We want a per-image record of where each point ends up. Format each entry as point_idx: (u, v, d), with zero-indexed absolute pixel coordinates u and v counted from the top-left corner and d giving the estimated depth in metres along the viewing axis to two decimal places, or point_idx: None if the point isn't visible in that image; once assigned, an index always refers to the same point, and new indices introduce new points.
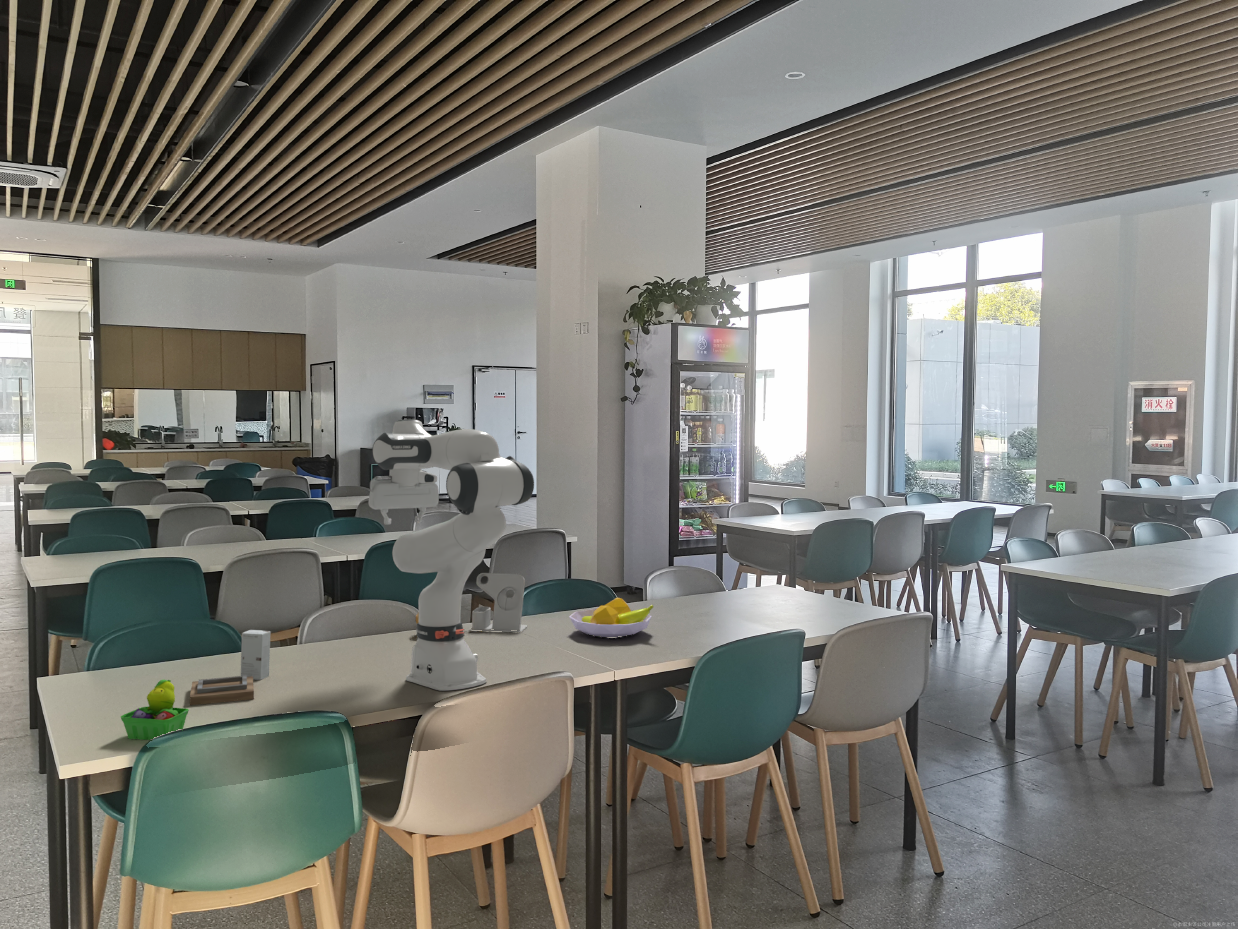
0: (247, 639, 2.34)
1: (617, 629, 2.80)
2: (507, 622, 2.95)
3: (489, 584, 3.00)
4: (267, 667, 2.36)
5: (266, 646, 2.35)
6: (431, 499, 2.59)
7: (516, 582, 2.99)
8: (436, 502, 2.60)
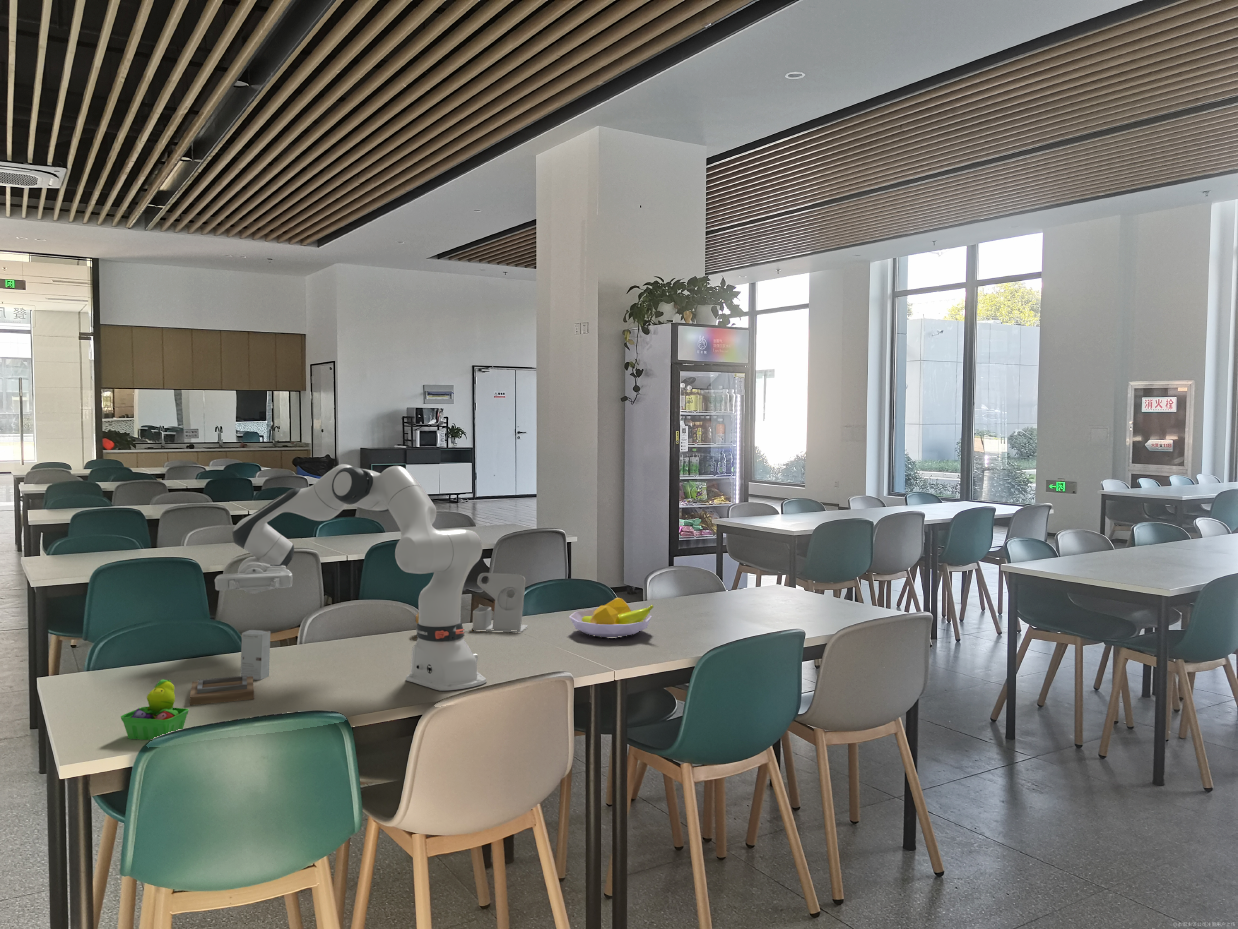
0: (247, 639, 2.34)
1: (617, 629, 2.80)
2: (507, 622, 2.95)
3: (490, 584, 3.00)
4: (267, 667, 2.36)
5: (266, 646, 2.35)
6: (283, 573, 2.56)
7: (517, 582, 2.99)
8: (289, 573, 2.55)
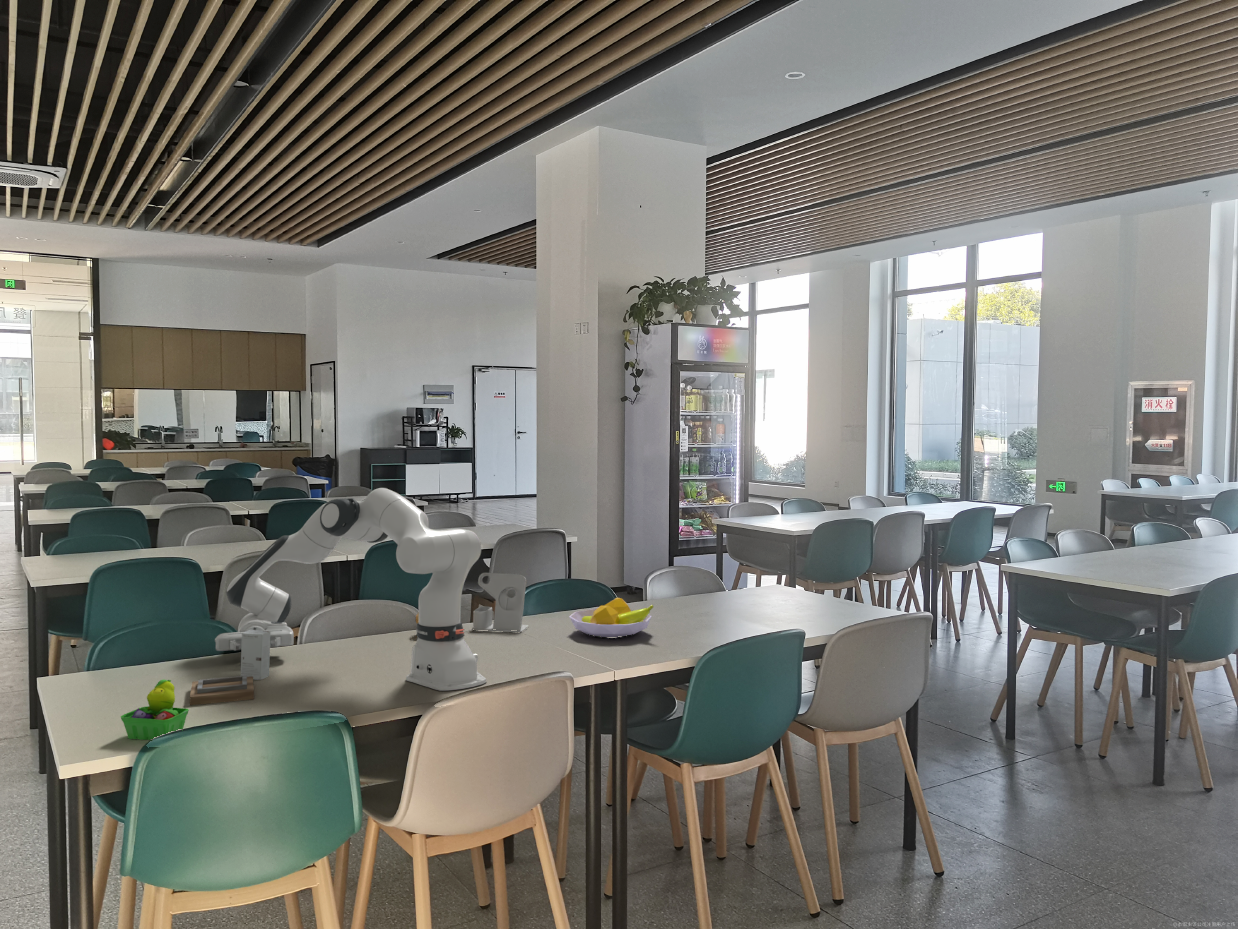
0: (247, 639, 2.34)
1: (617, 629, 2.80)
2: (508, 622, 2.95)
3: (491, 584, 3.00)
4: (267, 667, 2.36)
5: (266, 646, 2.35)
6: (284, 631, 2.54)
7: (517, 582, 2.99)
8: (290, 631, 2.53)
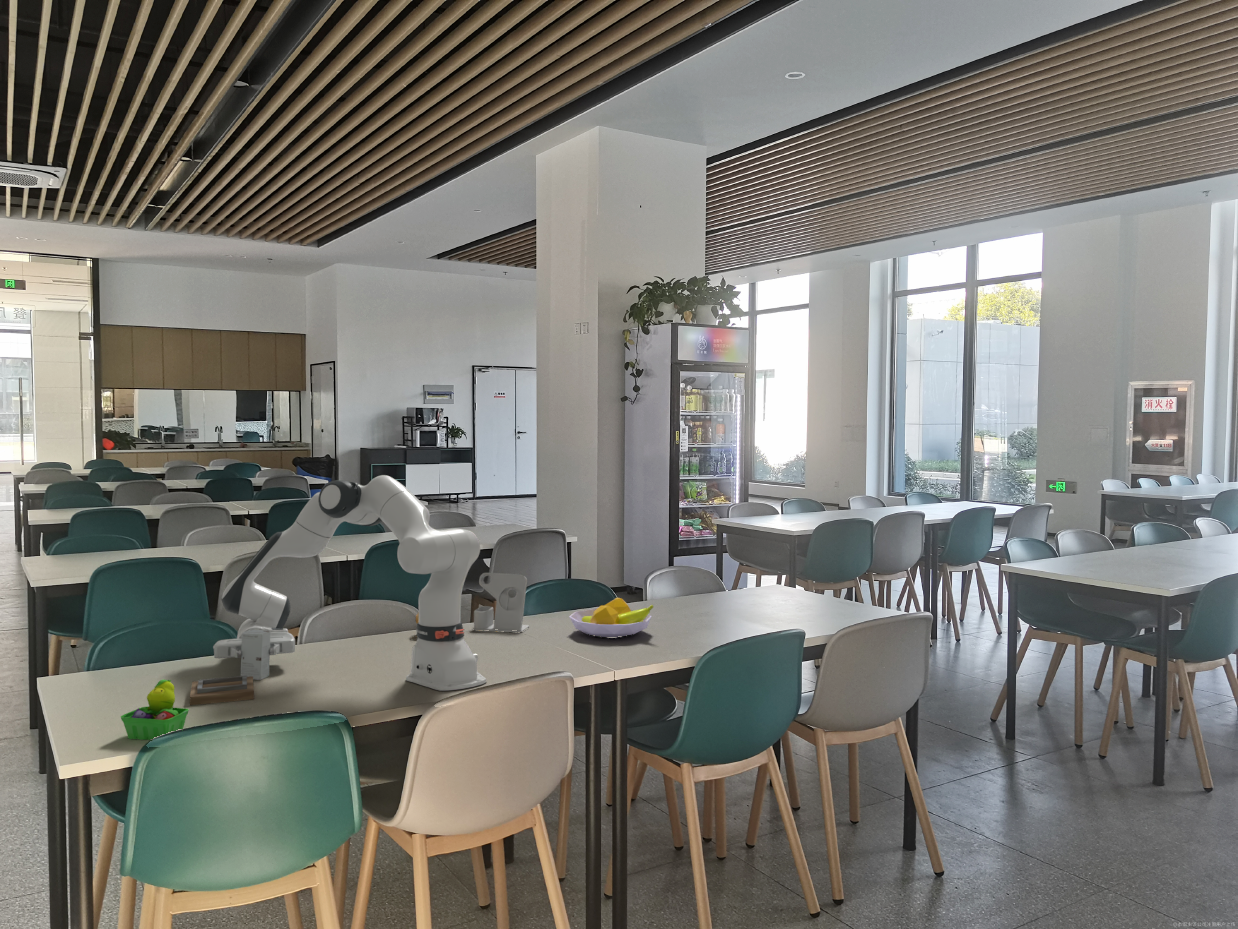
0: (247, 639, 2.34)
1: (617, 629, 2.80)
2: (508, 622, 2.95)
3: (491, 584, 3.00)
4: (267, 667, 2.36)
5: (266, 646, 2.35)
6: (285, 638, 2.44)
7: (518, 582, 2.99)
8: (291, 638, 2.44)
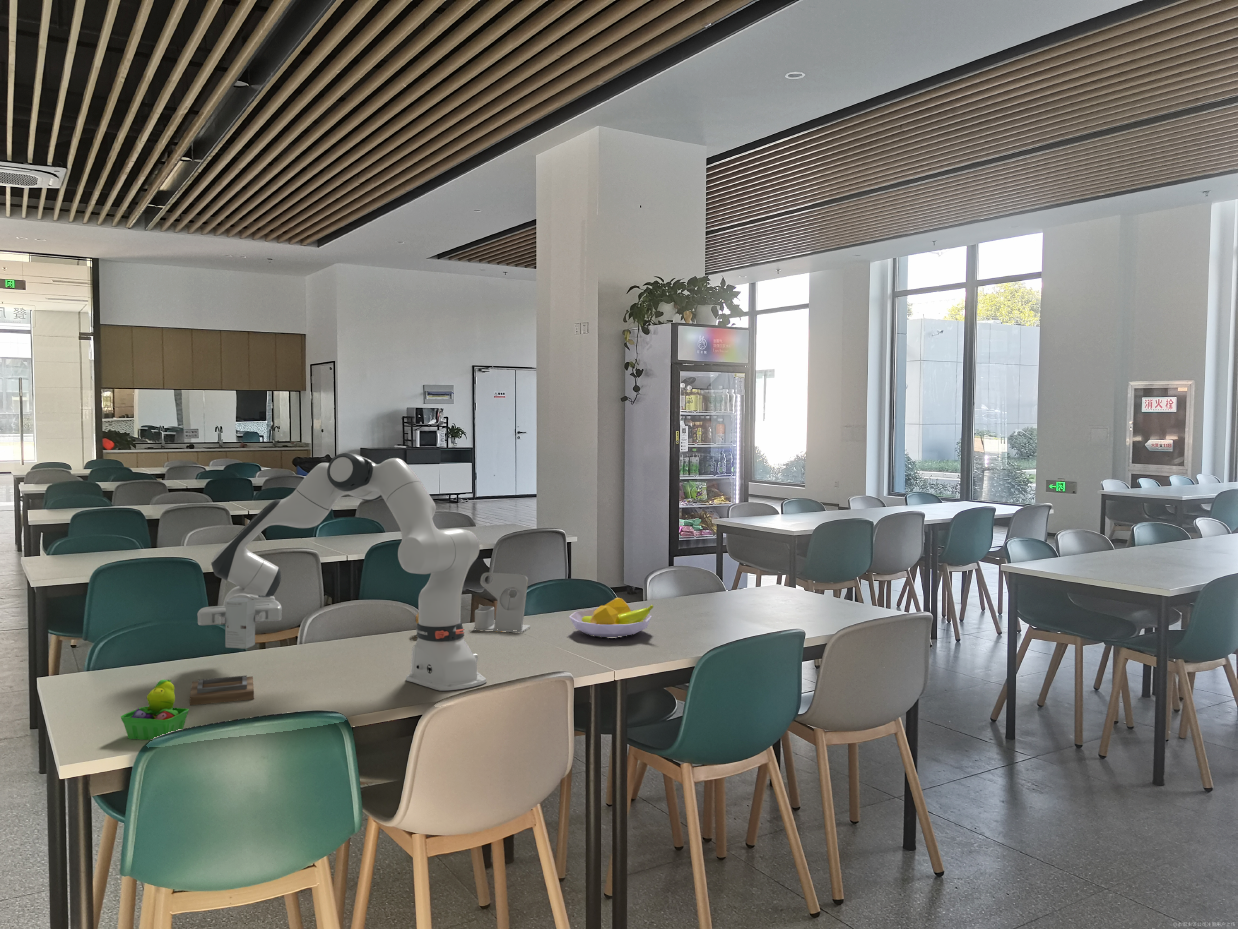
0: (231, 607, 2.26)
1: (617, 629, 2.80)
2: (509, 622, 2.95)
3: (492, 584, 3.01)
4: (253, 636, 2.29)
5: (251, 614, 2.28)
6: (272, 606, 2.37)
7: (519, 582, 2.99)
8: (278, 605, 2.36)
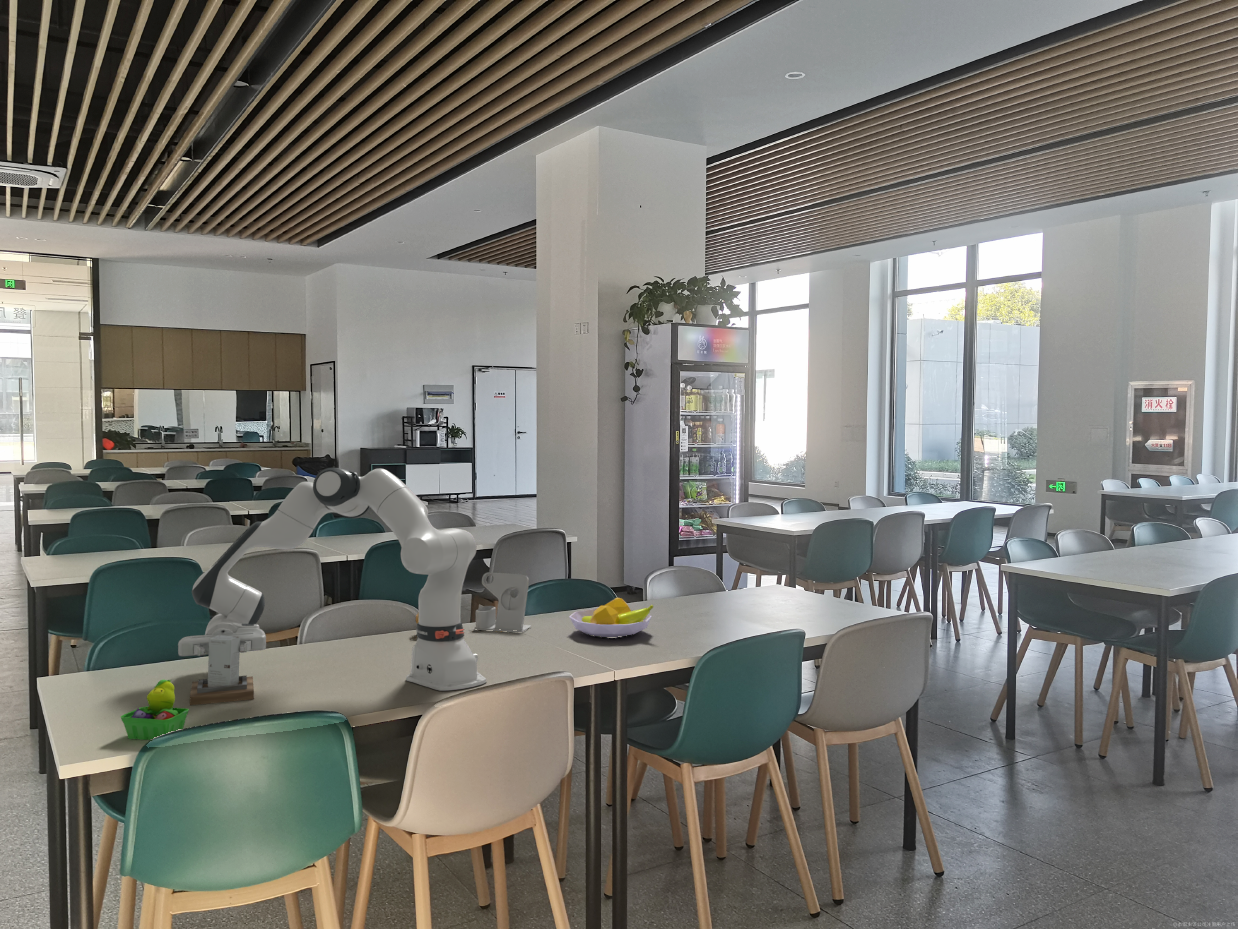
0: (214, 645, 2.19)
1: (617, 629, 2.80)
2: (509, 622, 2.95)
3: (494, 584, 3.01)
4: (236, 675, 2.21)
5: (235, 652, 2.20)
6: (256, 635, 2.29)
7: (520, 582, 2.99)
8: (262, 635, 2.28)
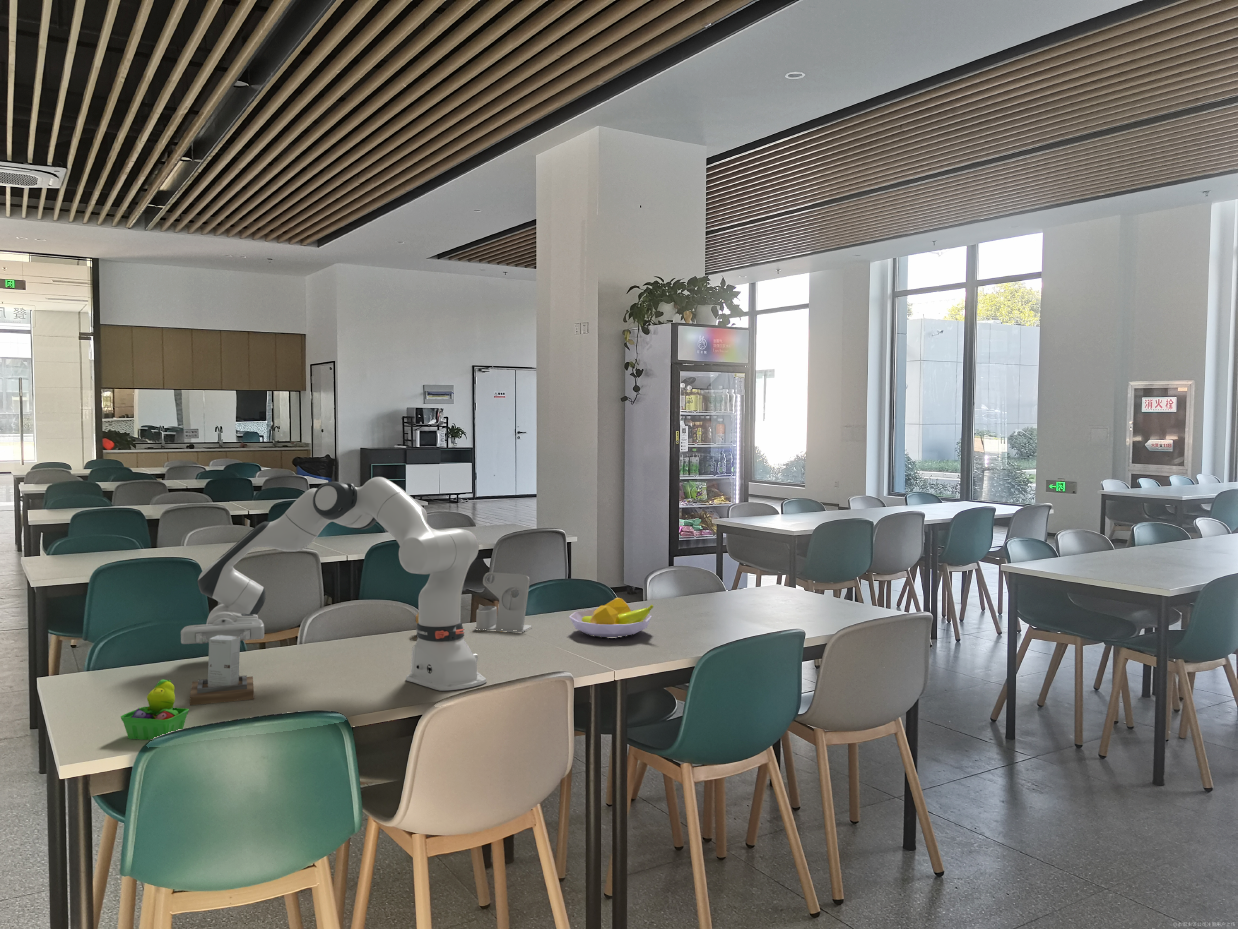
0: (214, 645, 2.19)
1: (617, 629, 2.80)
2: (510, 622, 2.95)
3: (495, 583, 3.01)
4: (236, 675, 2.21)
5: (235, 653, 2.20)
6: (254, 624, 2.41)
7: (521, 582, 2.99)
8: (260, 624, 2.40)
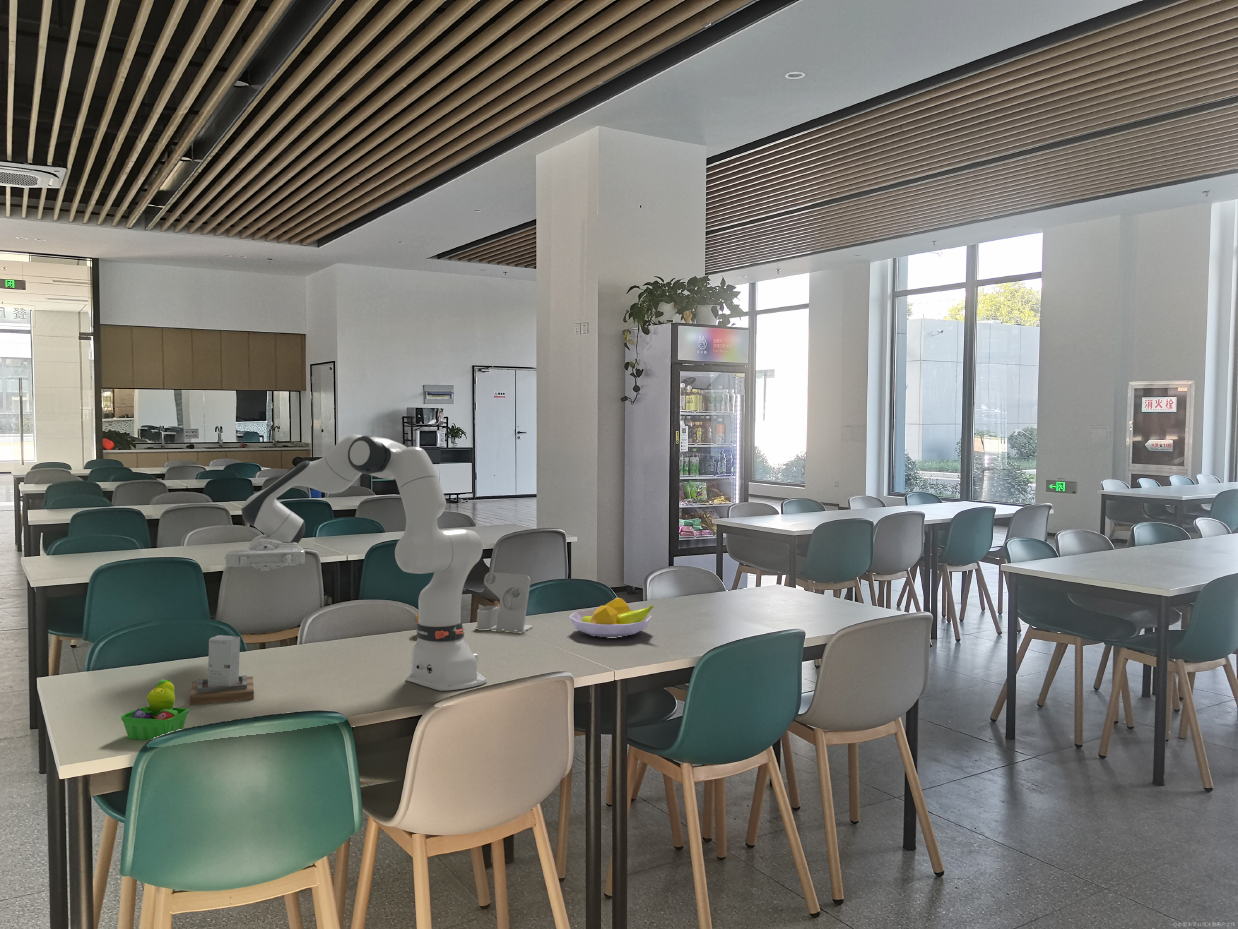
0: (214, 645, 2.19)
1: (617, 629, 2.80)
2: (511, 622, 2.95)
3: (496, 583, 3.01)
4: (236, 675, 2.21)
5: (235, 652, 2.20)
6: (295, 550, 2.49)
7: (521, 582, 2.99)
8: (301, 550, 2.49)
